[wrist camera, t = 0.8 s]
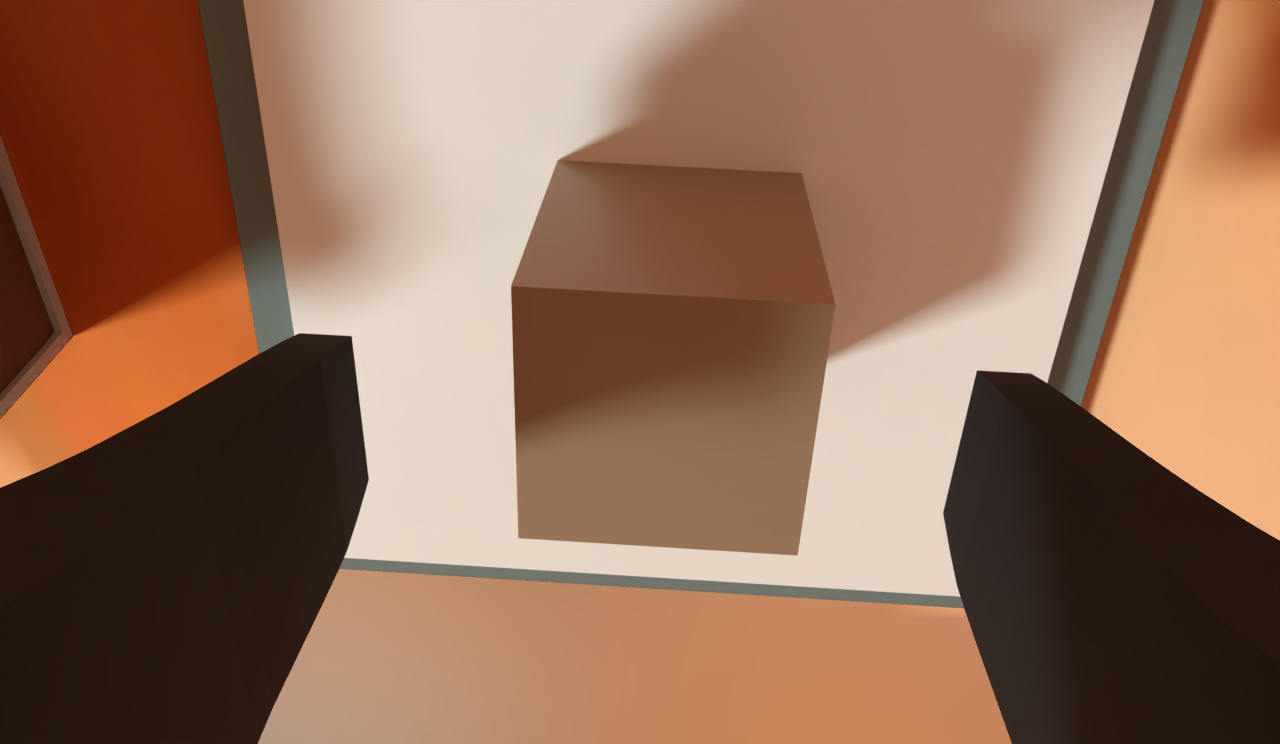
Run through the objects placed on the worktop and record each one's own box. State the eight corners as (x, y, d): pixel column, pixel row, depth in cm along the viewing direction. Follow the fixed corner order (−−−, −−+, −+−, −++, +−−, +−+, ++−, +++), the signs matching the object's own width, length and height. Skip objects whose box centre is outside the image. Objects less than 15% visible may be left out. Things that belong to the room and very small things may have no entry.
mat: (1257, -239, 13) (1276, -239, 12) (1011, 593, 20) (1018, 611, 20) (166, -285, 13) (147, -287, 13) (304, 549, 20) (296, 566, 20)
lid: (1168, -150, 13) (1402, -114, 9) (975, 568, 19) (1057, 800, 15) (238, -193, 13) (18, -178, 9) (341, 528, 19) (238, 744, 15)
